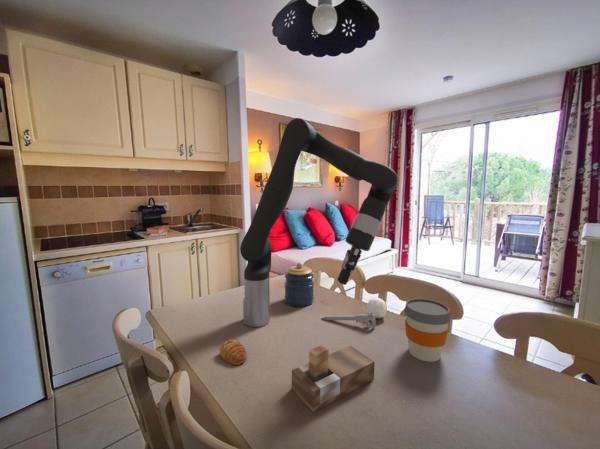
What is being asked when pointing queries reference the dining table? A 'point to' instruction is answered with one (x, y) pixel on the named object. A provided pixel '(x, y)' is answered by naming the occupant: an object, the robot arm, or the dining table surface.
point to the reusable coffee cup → (426, 328)
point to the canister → (299, 286)
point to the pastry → (233, 352)
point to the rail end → (318, 363)
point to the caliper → (354, 318)
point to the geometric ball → (377, 307)
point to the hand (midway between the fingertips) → (341, 282)
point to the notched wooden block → (333, 378)
